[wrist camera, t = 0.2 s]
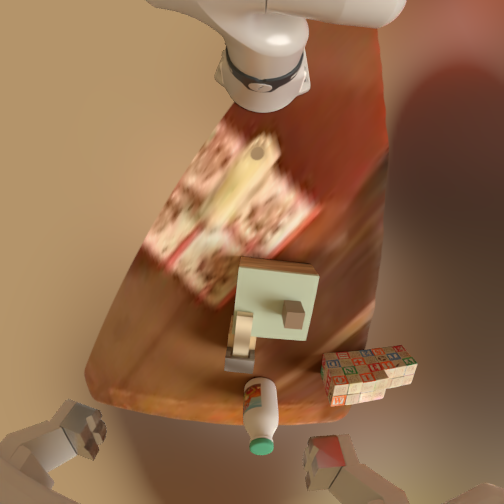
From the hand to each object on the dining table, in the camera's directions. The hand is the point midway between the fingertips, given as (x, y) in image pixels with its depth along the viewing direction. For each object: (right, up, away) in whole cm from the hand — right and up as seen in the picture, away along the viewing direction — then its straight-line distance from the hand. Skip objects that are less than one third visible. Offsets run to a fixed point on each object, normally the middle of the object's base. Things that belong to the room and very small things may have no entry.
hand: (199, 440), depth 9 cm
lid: (+6, -3, +42) cm, 42 cm away
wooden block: (0, -8, +42) cm, 42 cm away
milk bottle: (+4, -26, +55) cm, 61 cm away
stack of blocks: (+29, -19, +53) cm, 63 cm away
